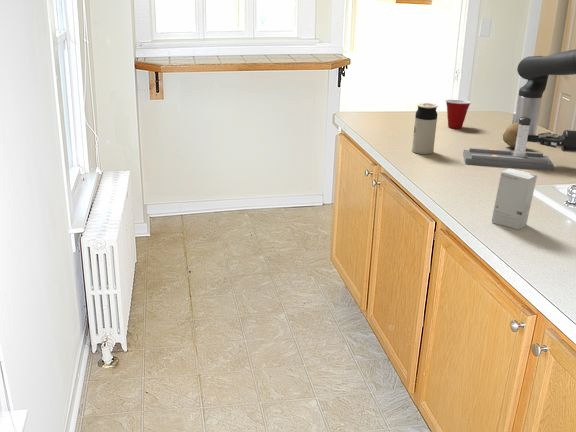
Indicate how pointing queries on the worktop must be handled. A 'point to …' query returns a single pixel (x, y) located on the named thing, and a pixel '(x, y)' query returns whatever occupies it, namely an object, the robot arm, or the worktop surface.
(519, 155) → the fader lever
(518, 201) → the skincare box
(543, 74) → the robot arm
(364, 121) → the worktop surface
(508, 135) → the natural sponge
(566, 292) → the worktop surface
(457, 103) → the plastic cup
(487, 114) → the worktop surface
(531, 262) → the worktop surface
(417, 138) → the travel mug
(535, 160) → the slider board
